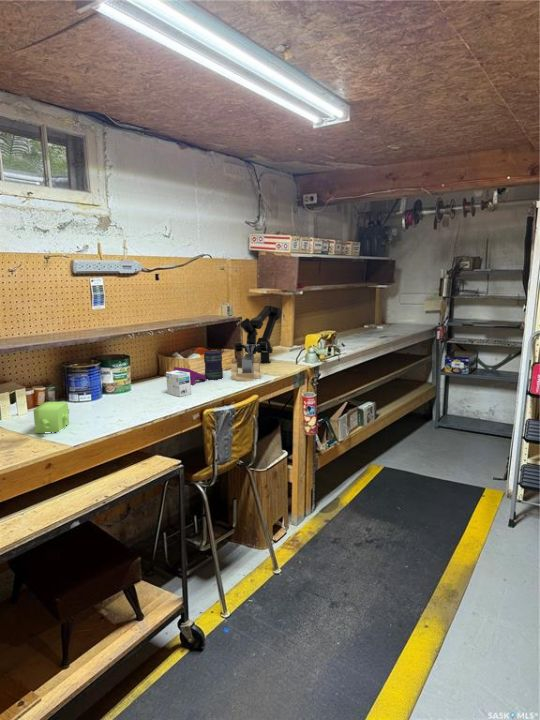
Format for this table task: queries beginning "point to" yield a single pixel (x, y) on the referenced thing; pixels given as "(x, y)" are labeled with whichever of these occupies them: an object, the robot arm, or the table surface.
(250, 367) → the silver rectangular block
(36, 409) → the gearbox
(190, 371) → the mounting bracket
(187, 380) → the light bulb box
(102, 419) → the table surface
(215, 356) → the storage jar
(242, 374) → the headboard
